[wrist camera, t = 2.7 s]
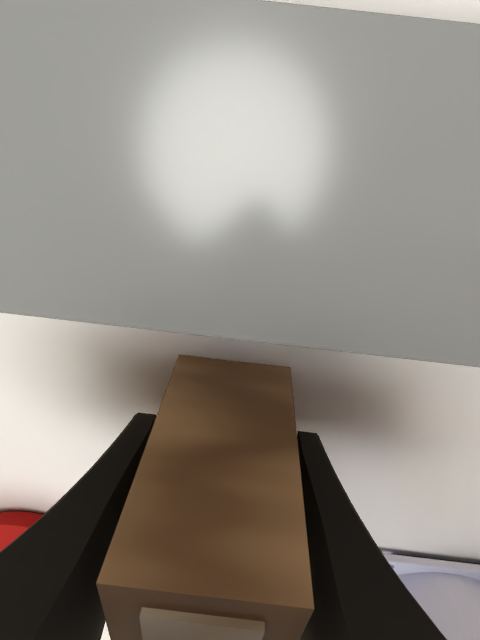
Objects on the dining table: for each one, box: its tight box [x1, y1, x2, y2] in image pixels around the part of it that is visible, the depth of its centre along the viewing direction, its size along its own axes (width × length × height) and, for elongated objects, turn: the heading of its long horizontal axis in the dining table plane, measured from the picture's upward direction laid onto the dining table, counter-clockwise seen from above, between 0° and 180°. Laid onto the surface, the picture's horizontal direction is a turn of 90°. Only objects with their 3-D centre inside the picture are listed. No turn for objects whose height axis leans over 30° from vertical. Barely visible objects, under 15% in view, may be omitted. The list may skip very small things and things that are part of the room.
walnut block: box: [96, 355, 314, 640], centre depth 10 cm, size 4×4×7 cm
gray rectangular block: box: [0, 0, 480, 367], centre depth 8 cm, size 12×6×3 cm, turn 85°
